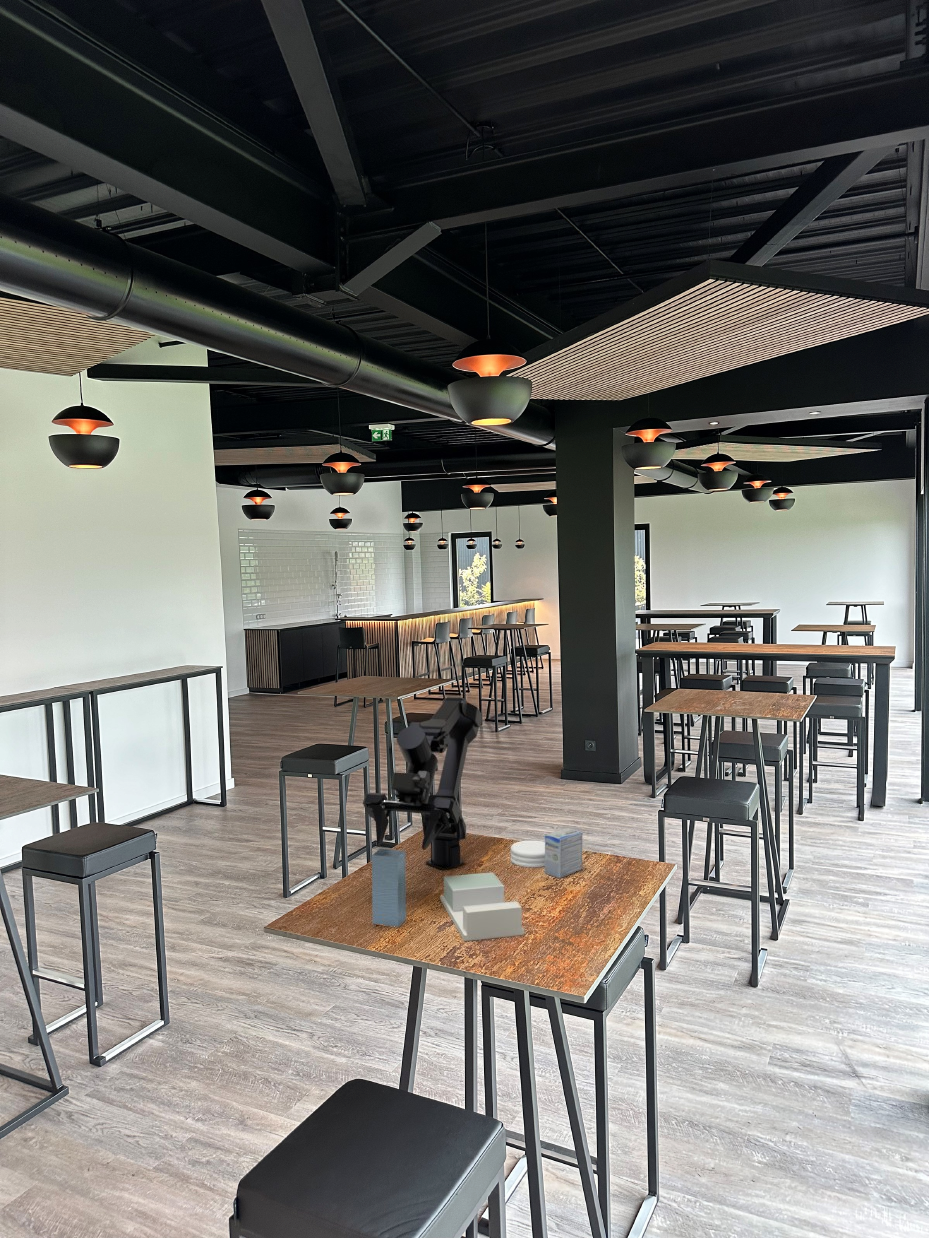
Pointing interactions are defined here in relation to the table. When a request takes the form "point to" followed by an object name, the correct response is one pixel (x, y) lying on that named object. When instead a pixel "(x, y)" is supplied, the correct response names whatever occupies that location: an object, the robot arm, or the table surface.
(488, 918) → the vise bed
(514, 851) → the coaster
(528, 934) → the table surface
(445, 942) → the table surface
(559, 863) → the medicine box
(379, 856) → the slate-blue block
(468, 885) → the block
